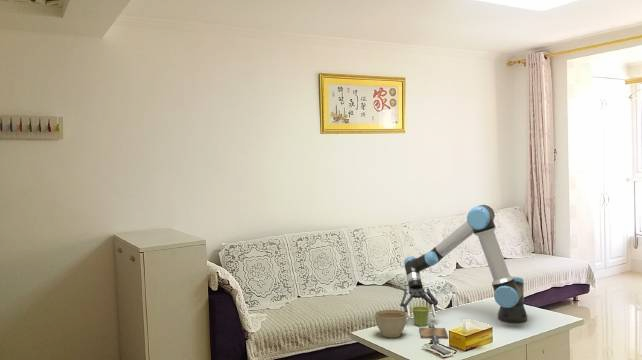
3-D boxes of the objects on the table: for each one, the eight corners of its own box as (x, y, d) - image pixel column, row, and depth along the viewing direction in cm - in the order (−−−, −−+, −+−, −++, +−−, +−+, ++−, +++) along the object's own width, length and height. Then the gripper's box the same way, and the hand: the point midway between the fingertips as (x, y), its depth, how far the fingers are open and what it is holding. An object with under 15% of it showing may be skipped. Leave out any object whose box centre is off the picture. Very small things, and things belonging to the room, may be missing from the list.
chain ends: (434, 327, 281) (434, 324, 281) (439, 344, 256) (439, 340, 256) (428, 327, 281) (428, 324, 281) (432, 344, 256) (432, 340, 256)
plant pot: (410, 322, 291) (409, 306, 291) (427, 321, 292) (426, 305, 292) (414, 327, 282) (414, 311, 282) (432, 326, 283) (431, 310, 282)
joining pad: (444, 330, 276) (444, 328, 276) (447, 338, 263) (447, 336, 263) (419, 330, 278) (419, 327, 278) (421, 338, 265) (421, 335, 265)
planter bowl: (409, 331, 277) (408, 310, 276) (405, 341, 261) (405, 319, 261) (378, 329, 281) (377, 308, 281) (372, 339, 265) (372, 317, 265)
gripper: (435, 285, 302) (443, 319, 288) (391, 286, 301) (397, 321, 287) (438, 278, 297) (446, 312, 283) (393, 279, 296) (399, 314, 281)
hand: (421, 317), depth 285 cm, fingers open, 13 cm apart
